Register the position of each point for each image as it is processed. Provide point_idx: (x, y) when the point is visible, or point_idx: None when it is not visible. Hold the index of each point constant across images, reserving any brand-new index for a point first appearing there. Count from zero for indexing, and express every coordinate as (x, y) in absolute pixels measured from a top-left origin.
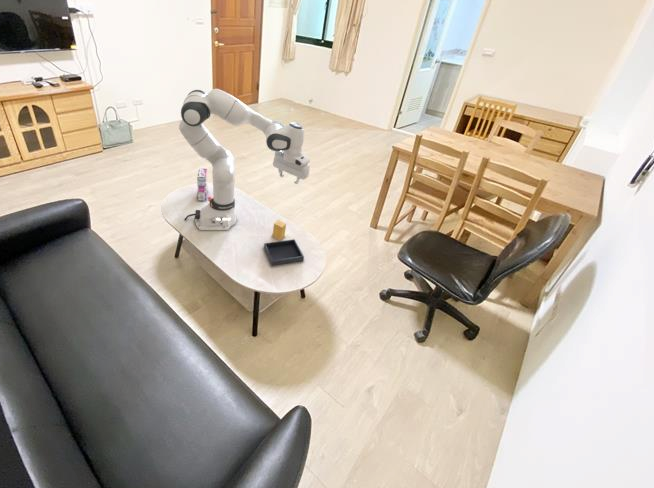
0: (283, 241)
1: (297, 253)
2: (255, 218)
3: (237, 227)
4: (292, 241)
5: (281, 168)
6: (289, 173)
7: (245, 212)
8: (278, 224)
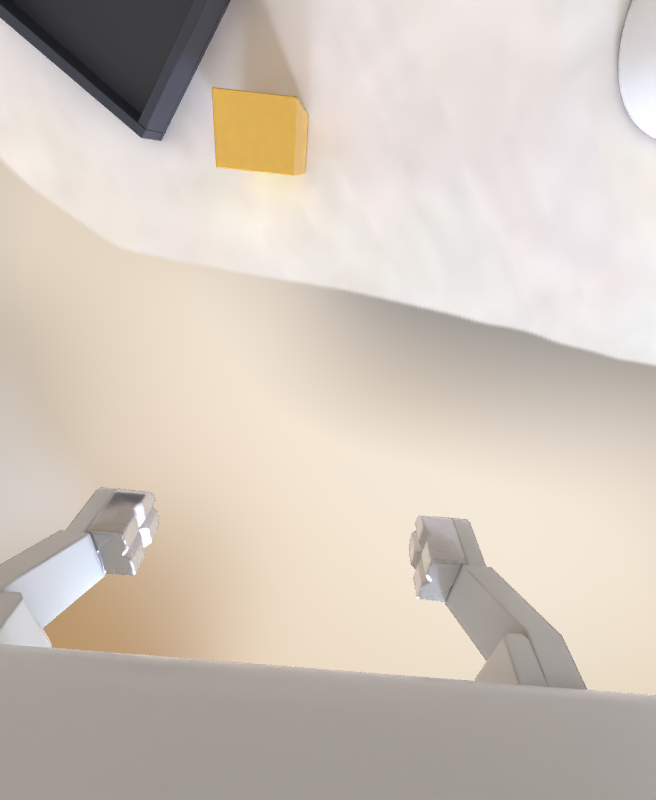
0: (174, 43)
1: (70, 50)
2: (494, 218)
3: (581, 13)
4: (145, 115)
5: (508, 751)
6: (202, 667)
7: (581, 232)
8: (258, 110)
